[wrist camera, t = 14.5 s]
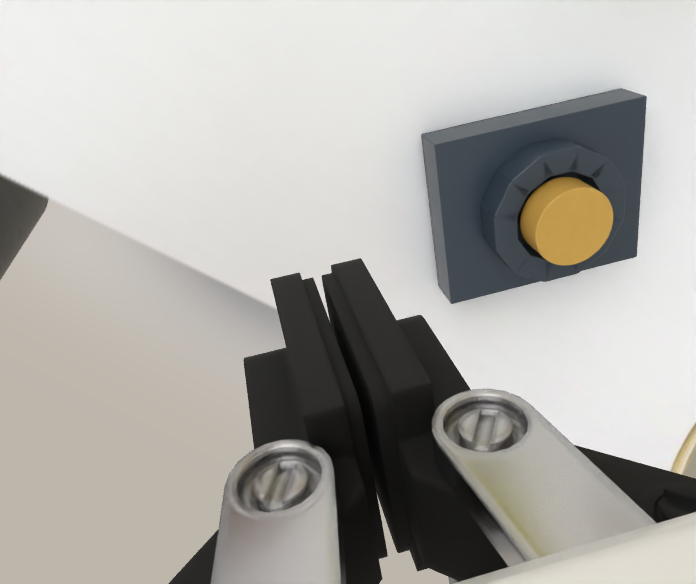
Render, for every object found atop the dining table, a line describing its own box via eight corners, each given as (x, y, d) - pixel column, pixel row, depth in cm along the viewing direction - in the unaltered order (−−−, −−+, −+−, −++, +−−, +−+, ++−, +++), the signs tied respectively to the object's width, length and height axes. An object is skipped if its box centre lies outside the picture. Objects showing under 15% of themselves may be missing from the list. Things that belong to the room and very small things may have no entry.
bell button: (521, 259, 32) (536, 274, 31) (518, 186, 30) (534, 198, 29) (593, 241, 33) (612, 255, 31) (595, 168, 31) (615, 178, 29)
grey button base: (438, 286, 36) (462, 320, 33) (421, 133, 32) (447, 155, 29) (615, 241, 37) (657, 270, 34) (621, 87, 33) (670, 103, 30)
